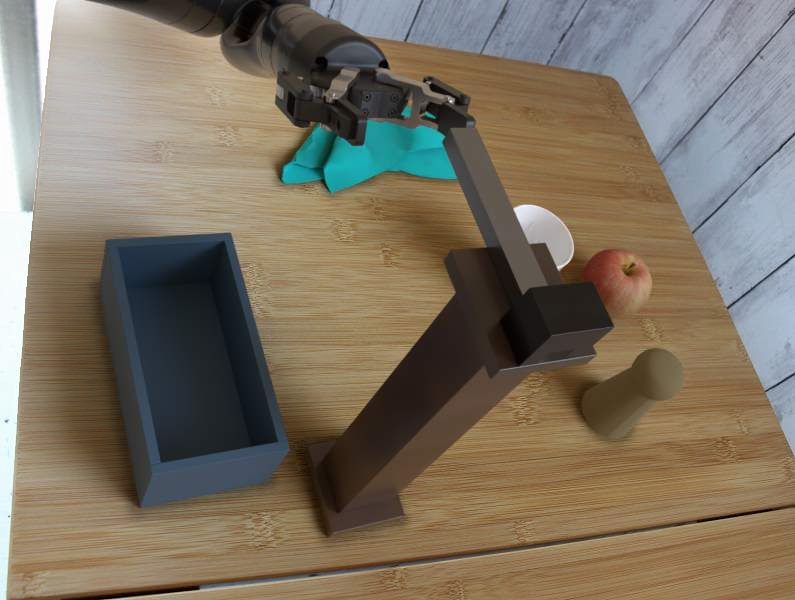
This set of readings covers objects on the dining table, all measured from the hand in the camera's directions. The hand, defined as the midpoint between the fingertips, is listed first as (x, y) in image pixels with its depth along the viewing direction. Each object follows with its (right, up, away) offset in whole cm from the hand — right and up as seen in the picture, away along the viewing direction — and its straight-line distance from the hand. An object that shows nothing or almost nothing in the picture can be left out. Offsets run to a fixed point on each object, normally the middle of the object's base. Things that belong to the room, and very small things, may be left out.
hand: (417, 132), depth 58 cm
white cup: (+9, -10, +34) cm, 37 cm away
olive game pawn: (+21, -24, +31) cm, 44 cm away
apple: (+22, -12, +39) cm, 46 cm away
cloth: (-4, +7, +39) cm, 40 cm away
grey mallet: (+5, -8, -8) cm, 12 cm away
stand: (-5, -28, +16) cm, 33 cm away
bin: (-20, -19, +15) cm, 32 cm away
